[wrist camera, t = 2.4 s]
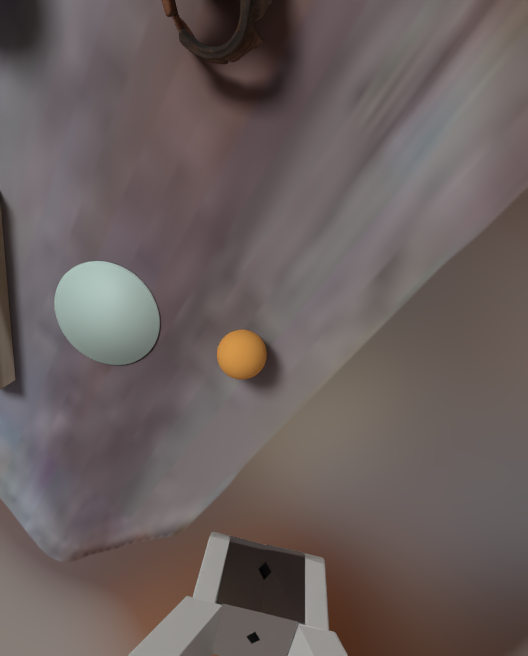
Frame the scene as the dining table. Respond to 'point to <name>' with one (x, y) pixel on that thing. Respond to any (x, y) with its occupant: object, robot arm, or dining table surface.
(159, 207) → the dining table surface
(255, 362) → the ball
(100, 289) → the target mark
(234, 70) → the dining table surface
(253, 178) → the dining table surface
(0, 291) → the wall
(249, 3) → the pottery mug
